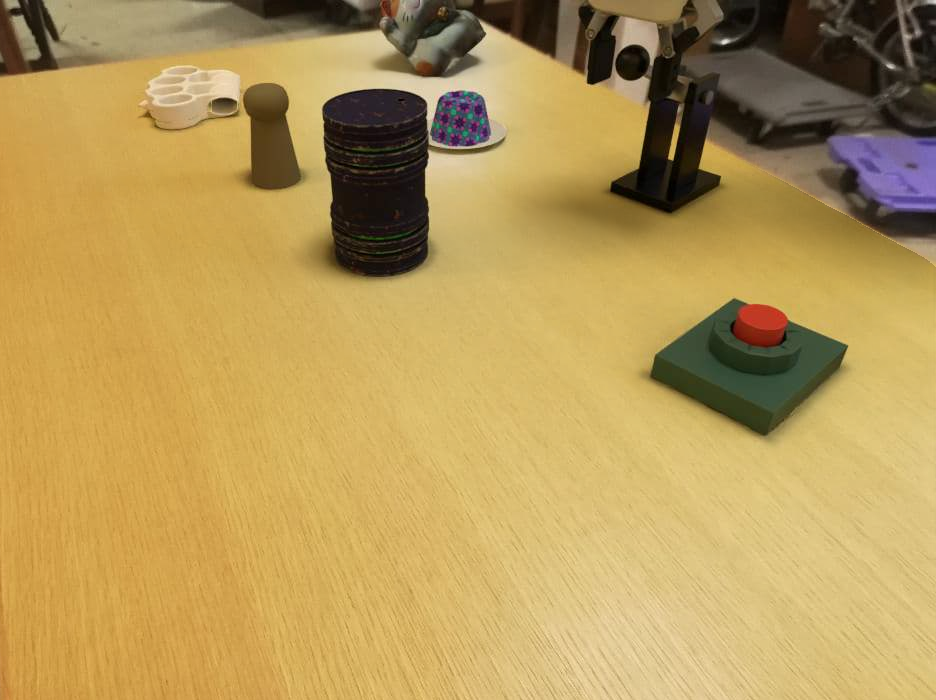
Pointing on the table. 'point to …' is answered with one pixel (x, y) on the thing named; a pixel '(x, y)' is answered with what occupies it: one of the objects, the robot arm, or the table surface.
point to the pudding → (463, 122)
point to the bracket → (681, 176)
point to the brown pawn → (270, 137)
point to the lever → (646, 70)
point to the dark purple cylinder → (378, 179)
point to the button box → (747, 368)
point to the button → (760, 325)
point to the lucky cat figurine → (430, 32)
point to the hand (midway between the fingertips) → (628, 87)
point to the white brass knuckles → (191, 95)
